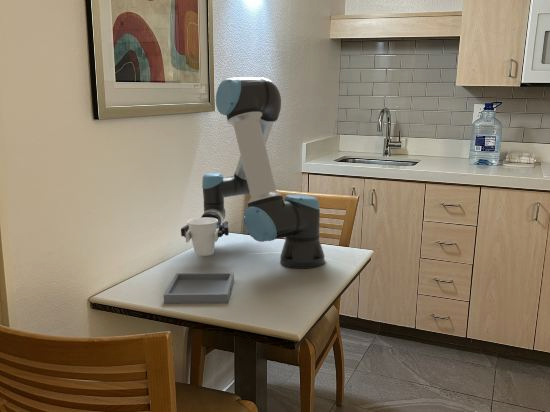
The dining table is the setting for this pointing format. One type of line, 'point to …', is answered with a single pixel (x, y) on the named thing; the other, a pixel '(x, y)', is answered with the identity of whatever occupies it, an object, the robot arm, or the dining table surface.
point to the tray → (199, 288)
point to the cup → (203, 235)
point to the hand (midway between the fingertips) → (201, 237)
